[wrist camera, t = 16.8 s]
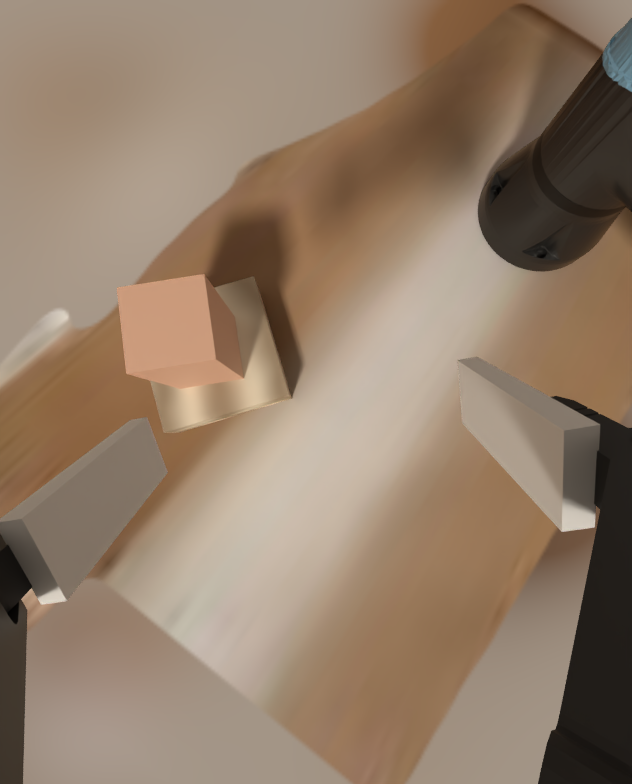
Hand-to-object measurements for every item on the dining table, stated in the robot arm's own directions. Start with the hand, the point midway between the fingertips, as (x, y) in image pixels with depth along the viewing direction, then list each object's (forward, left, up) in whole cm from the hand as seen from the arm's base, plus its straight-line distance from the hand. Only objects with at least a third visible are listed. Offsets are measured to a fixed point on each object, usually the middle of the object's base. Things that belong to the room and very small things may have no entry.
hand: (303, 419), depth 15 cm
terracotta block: (+5, -13, -23) cm, 27 cm away
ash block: (+5, -13, -28) cm, 32 cm away
